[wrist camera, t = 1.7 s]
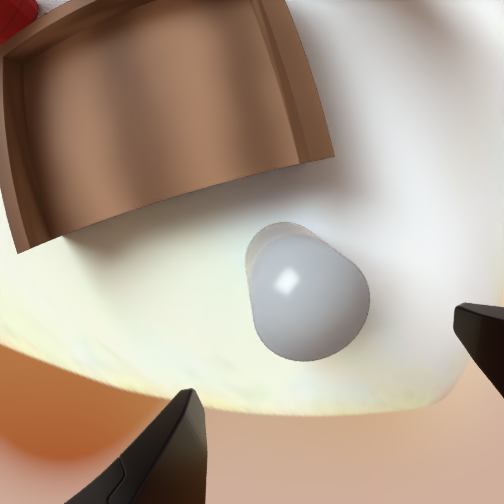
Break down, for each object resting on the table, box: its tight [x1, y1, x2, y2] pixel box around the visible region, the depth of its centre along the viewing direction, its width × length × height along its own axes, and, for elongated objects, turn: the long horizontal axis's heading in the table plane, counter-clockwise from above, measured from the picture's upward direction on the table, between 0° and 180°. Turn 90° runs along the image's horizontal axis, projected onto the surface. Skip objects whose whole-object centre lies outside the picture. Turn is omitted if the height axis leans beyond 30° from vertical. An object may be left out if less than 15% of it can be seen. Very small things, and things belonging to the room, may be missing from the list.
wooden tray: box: [0, 0, 335, 254], centre depth 14 cm, size 18×14×6 cm
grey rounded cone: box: [245, 222, 370, 361], centre depth 16 cm, size 5×5×8 cm
